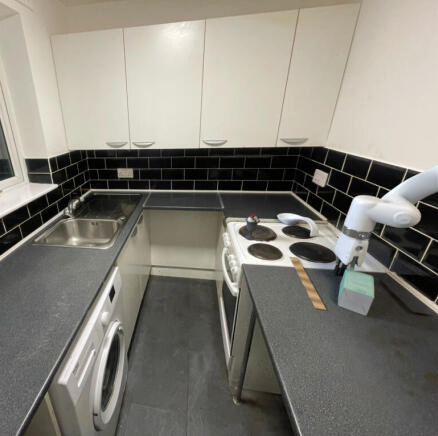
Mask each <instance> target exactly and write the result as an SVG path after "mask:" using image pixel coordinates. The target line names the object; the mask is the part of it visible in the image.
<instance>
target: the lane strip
mask: <svg viewBox="0 0 438 436" xmlns="http://www.w3.org/2000/svg"><path fill="white" fill-rule="evenodd" d="M289 260H290V261H291V263H292V266H293V267H294V269H295V271H296V273H297V275H298V278H299V279H300V282H301V283H302V286H303V287H304V289H305V291H306V293H307V296H308V297H309V299H310V301H311V303H312V305H313V308H314V309H315V310H320V311H327V308H326V307H325V305H324V302H323V301H322V299H321V297H320V296H319V294H318V292H317V290H316V288H315V287H314V285H313V283H312V281H311V279H310V277H309V275H308V274H307V272H306V270H305V269H304V267H303V265H302V263H301V262H300V261H301V260H300V259H299V257H295V256H289Z"/></svg>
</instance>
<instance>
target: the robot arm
mask: <svg viewBox="0 0 438 436" xmlns="http://www.w3.org/2000/svg"><path fill="white" fill-rule="evenodd" d="M435 193H438V163H437V164H435V165H434V166H433V167H430V168H428V169H426V170H423V171H421V172H419V173H417V174H416V175H414V176H411V177H410V178H407V179H406V180H404V181H403V182H401V183H399V184H398V185H397V186H395V187H394V188H392V189H391V190H389V191H388V192H387V193H386V194H384V195H383V196H382V197H381V198H379V197H376V196H373V195H367V194H366V195H365V194H364V195H363V194H362V195H357V196H355V197H354V198H352V201H351V204H350V206H349V209H348V212H347V214H346V217H345V219H344V223H343V224H342V227H341V231H340V234H339V236H338V238H337V240H336V243H335V245H334V247H333V252H334V253H335V255H336V261H335V266H334V268H333V271H332V273H333V275H334V276H335V277H342V278H343V275H344V272H345V270H346V269H348V270H354V271H355V267H356V266H357V267H359V268H360V267H362V265H363V263H364V261H365V258H366V256H367V252H368V249H369V242H370V241H369V240H370V238H371V237H372V233H373V232H374V230H375V227H376V225H377V223H379V224H382V225H385V226H389V227H393V228H398V229H399V228H400V229H407V228H411V227H414V226H415V225H417V224H419V222H420V221H421V218H422V214H421V212H420V209H418V208H417V207H416V206H415V205H416V204H417V203H418V202H420V201H421V200H424V199H425V198H427V197H428V196H431V195H433V194H435Z"/></svg>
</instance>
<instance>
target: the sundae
mask: <svg viewBox="0 0 438 436" xmlns="http://www.w3.org/2000/svg"><path fill="white" fill-rule="evenodd" d="M245 221H246V231H248V232H249V233H248V234H247V235H244V239H245V240H248V241H254V240H256V238H255V237H254V236H253V235H252V233H254V232H255V231H256V229H257V227H258V224H260V222H261V219H260V216H258V214H254V211H252V212H251V214H250V216H249V217H246V218H245Z"/></svg>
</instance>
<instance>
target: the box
mask: <svg viewBox="0 0 438 436" xmlns="http://www.w3.org/2000/svg"><path fill="white" fill-rule="evenodd" d="M374 279H375V278H374V276H373V275H370V274H367V273H364V272H361V271H357V270H355V269H354V270H348V269H346V270H345V272H344V275H343V277H342V278H341V281H340V283H339V289H338V297H337V306H338V307H340V308H343V309H345V310H348V311H350V312H353V313H357V314H359V315H362V316H368V314H369V311H370V310H371V306H372V304H373V302H374V299H375V280H374Z"/></svg>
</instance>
